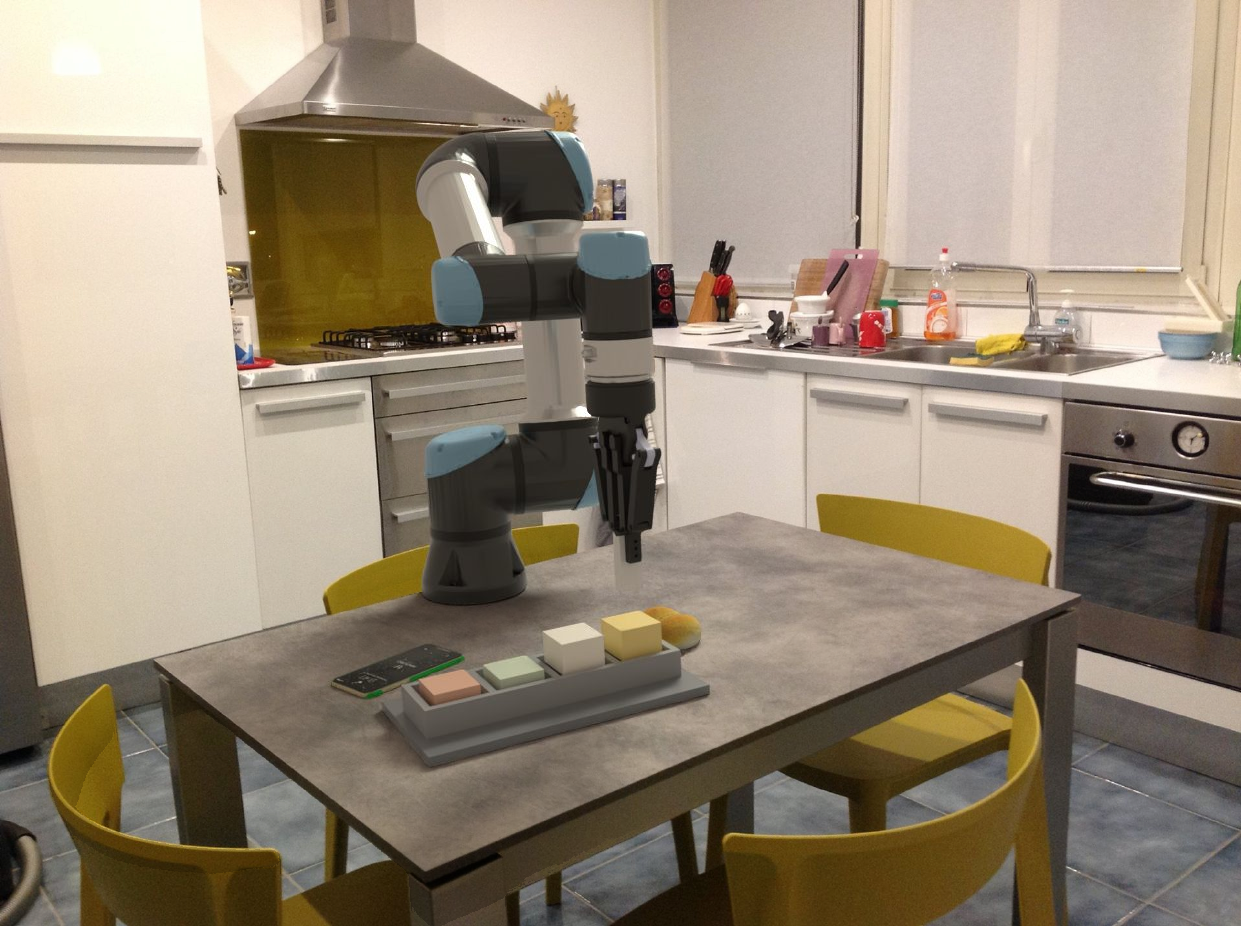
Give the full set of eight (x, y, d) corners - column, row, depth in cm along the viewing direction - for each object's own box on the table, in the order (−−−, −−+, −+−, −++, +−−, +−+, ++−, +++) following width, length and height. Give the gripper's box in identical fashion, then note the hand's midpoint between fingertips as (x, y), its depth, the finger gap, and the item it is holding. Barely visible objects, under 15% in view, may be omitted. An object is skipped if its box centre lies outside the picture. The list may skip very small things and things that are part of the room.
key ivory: (544, 661, 125) (542, 631, 125) (584, 651, 128) (583, 622, 127) (563, 675, 121) (561, 644, 120) (605, 665, 123) (603, 635, 122)
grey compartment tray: (382, 709, 123) (379, 675, 122) (639, 649, 138) (638, 618, 137) (429, 766, 109) (426, 728, 108) (709, 693, 124) (708, 658, 123)
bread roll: (668, 659, 135) (667, 627, 134) (619, 641, 141) (618, 610, 141) (717, 640, 140) (716, 610, 139) (667, 624, 147) (666, 594, 146)
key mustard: (602, 647, 129) (600, 618, 128) (640, 639, 131) (639, 610, 130) (622, 661, 124) (621, 631, 123) (662, 652, 126) (661, 622, 126)
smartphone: (468, 654, 137) (367, 695, 126) (468, 661, 137) (367, 703, 126) (427, 641, 142) (327, 679, 131) (428, 648, 142) (327, 687, 131)
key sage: (485, 695, 122) (482, 664, 122) (527, 685, 125) (525, 655, 124) (502, 711, 118) (500, 679, 117) (545, 700, 120) (544, 669, 120)
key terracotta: (421, 710, 119) (418, 679, 119) (465, 699, 121) (463, 669, 121) (436, 727, 115) (433, 695, 114) (482, 716, 117) (480, 684, 116)
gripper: (562, 376, 125) (573, 580, 130) (616, 386, 114) (627, 609, 118) (622, 369, 129) (631, 569, 133) (680, 379, 117) (688, 596, 122)
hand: (629, 588), depth 126 cm, fingers closed
